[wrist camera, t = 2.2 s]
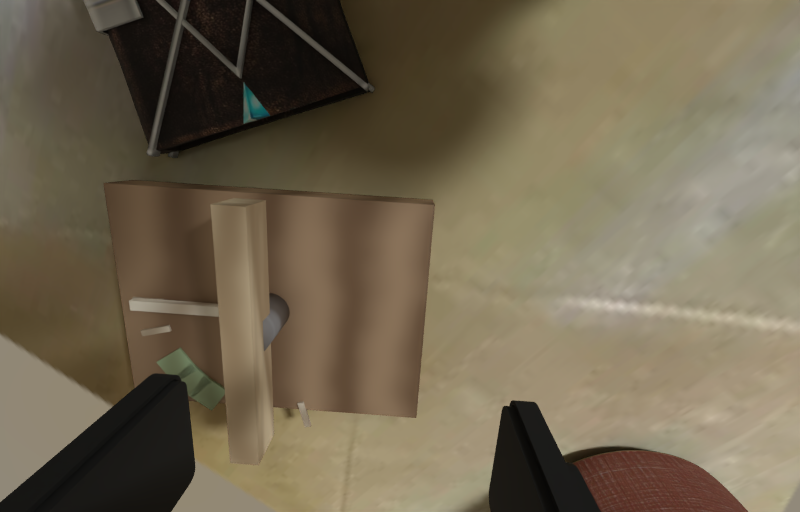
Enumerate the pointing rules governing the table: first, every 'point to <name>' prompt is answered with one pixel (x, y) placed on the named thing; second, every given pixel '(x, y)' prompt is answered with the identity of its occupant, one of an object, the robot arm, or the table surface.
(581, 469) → the planter
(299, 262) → the dial board
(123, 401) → the robot arm
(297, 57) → the book
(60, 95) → the table surface
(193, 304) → the wooden lever
